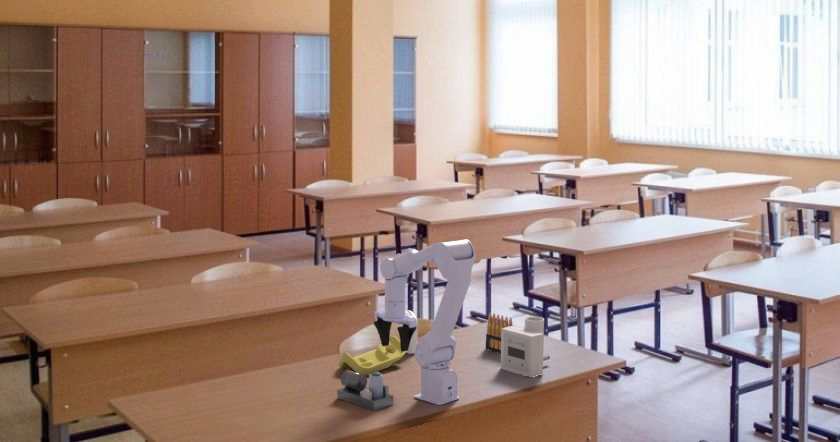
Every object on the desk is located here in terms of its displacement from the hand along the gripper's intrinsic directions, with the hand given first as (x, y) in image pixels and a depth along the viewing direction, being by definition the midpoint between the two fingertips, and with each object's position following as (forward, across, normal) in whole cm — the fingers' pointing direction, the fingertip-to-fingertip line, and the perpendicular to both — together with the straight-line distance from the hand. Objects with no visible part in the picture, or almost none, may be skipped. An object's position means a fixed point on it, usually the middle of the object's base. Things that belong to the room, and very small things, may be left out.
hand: (394, 348), depth 276 cm
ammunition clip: (+10, +1, +45) cm, 46 cm away
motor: (+10, +6, -17) cm, 21 cm away
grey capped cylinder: (+7, +10, -17) cm, 21 cm away
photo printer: (+10, -21, +27) cm, 36 cm away
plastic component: (+10, -15, +7) cm, 19 cm away
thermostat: (+10, +19, +38) cm, 44 cm away
